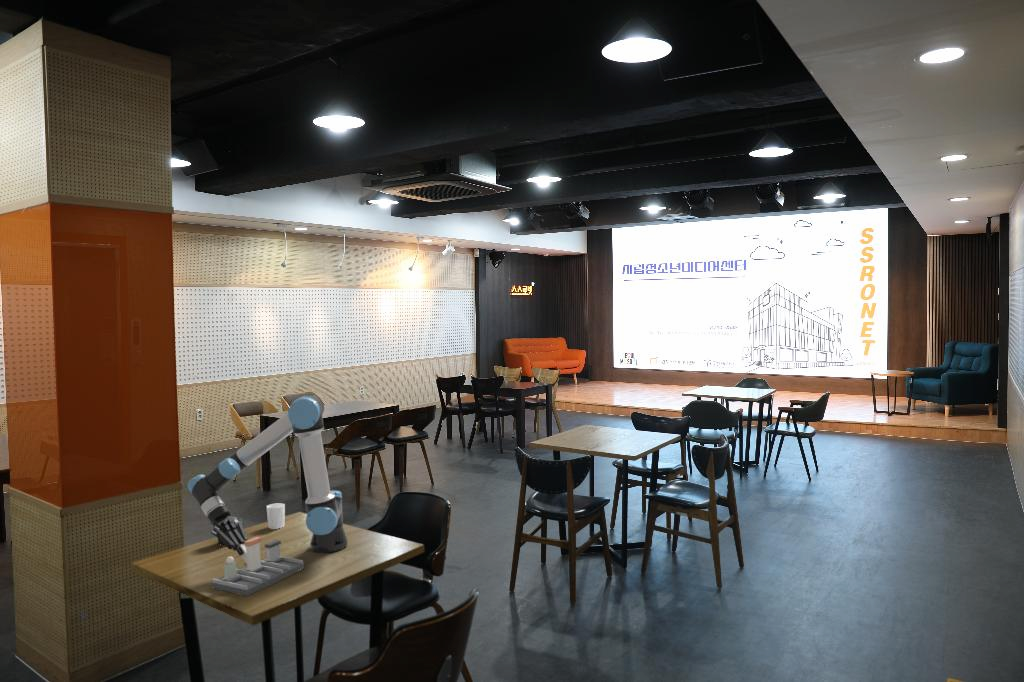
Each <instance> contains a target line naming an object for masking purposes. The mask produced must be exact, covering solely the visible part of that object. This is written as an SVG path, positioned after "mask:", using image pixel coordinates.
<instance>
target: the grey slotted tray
mask: <svg viewBox="0 0 1024 682" xmlns="http://www.w3.org/2000/svg"><path fill="white" fill-rule="evenodd" d="M280 557H282V560H280V561H278V562H276V563H272V562H267V561H265V560H266V559H267V557H265V558H264V559H261V566H263V569H262V570H260V571H258V572H250V571H245V569H247V566H245V567H242V568H240V569H239V568H237V575H240V577H241V578H240V579H238V580H236V581H234V582H227V581H223V580H221V579H222V578H224V576H222V577H220V578H211V582H210V586H211V587H214V588H213V589H215V588H217V589H216V590H219V589H221V590H220V591H223V592H224V591H225V592H228V591H229V593H234V594H237V595H241V594H242V596H245V597H246V596H250V594H251V595H253V594H254V592H255V593H256V591H257V592H258V591H259V592H260V591H261V590H262V588H263V589H265V588H267V587H269V586H271V585H273V584H276V583H277V582H279V581H281V579H282V580H284V579H285V578H288V577H290V576H292V575H294V574H296V573H298V572H299V571H298V570H300V569H302V568H304V569H305V564H304V560H303V559H299V558H293V557H288V556H282V555H280ZM302 570H303V569H302ZM297 571H298V572H297ZM300 571H301V570H300ZM295 572H296V573H295ZM293 573H294V574H293ZM291 574H292V575H291ZM287 576H288V577H287ZM283 578H284V579H283ZM252 593H253V594H252Z"/></svg>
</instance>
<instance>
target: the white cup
mask: <svg viewBox="0 0 1024 682" xmlns="http://www.w3.org/2000/svg"><path fill="white" fill-rule="evenodd" d="M266 514H267V524H268V529H269V528H270V529H269V530H280V529H283V528H284V527H285V520H286V518H285V517H286V504H285V503H284V502H283V503H281V502H278V503H277V502H275V503H271V504H268V505H266ZM272 521H273V522H272ZM282 527H283V528H282ZM279 528H280V529H279Z"/></svg>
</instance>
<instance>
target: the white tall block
mask: <svg viewBox="0 0 1024 682" xmlns="http://www.w3.org/2000/svg"><path fill="white" fill-rule="evenodd" d="M261 542H262V537H260V536H255V537H252V538H250V539H249V538H248V540H247V541H244V545H245V546H246V557H247V563H246V567H247V569H245V571H250V572H258V571H260V570H262V569H263V566H261V560H262V559H261Z"/></svg>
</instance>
